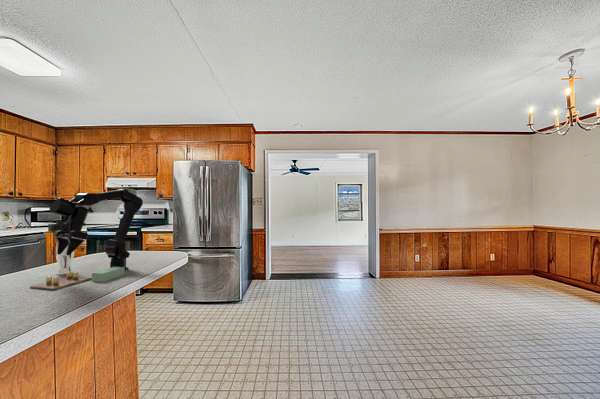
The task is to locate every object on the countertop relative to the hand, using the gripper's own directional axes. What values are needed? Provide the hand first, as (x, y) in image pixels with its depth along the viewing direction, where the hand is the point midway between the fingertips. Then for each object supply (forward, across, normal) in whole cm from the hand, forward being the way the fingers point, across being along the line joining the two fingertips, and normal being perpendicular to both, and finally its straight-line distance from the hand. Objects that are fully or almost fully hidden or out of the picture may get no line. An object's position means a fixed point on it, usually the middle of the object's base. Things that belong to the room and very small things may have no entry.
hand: (63, 254), depth 118 cm
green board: (+8, +6, +18) cm, 21 cm away
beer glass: (+8, -20, +11) cm, 24 cm away
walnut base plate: (+12, -1, +4) cm, 12 cm away
